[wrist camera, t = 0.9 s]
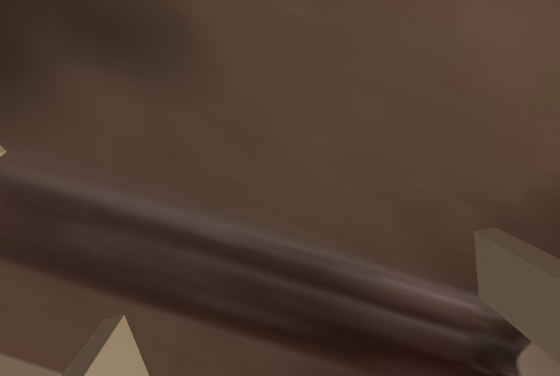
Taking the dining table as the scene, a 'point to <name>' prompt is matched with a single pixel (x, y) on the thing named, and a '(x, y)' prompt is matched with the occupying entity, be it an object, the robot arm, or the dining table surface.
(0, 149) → the block
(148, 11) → the dining table surface
